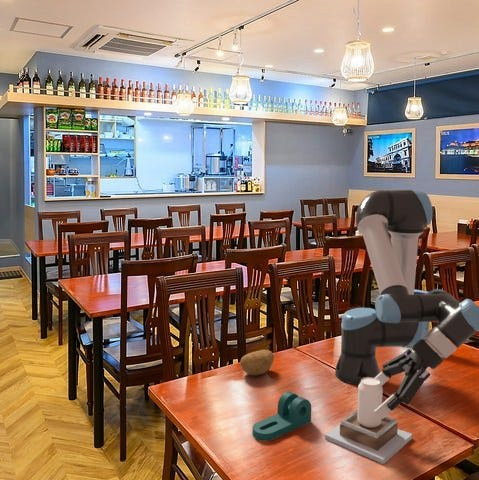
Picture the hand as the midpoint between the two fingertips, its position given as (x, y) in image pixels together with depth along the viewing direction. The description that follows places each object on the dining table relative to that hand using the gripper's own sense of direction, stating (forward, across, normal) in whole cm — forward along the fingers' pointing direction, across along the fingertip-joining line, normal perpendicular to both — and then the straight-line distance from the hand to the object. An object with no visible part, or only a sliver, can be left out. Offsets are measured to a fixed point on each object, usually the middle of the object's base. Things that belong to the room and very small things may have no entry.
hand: (372, 402), depth 130 cm
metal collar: (+5, 0, -4) cm, 6 cm away
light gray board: (+8, 0, -7) cm, 11 cm away
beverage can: (+5, 0, -4) cm, 7 cm away
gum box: (-12, +76, -27) cm, 81 cm away
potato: (+30, +41, +15) cm, 53 cm away
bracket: (+25, +5, +10) cm, 27 cm away
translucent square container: (+7, 0, -6) cm, 9 cm away
